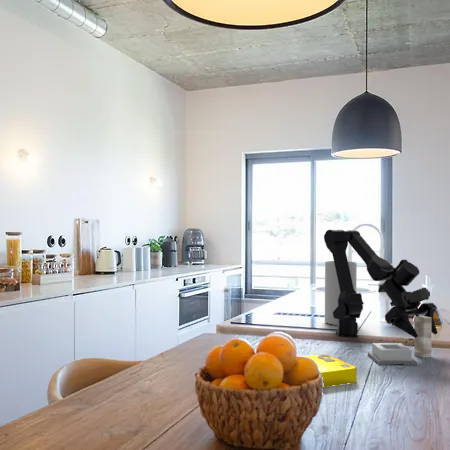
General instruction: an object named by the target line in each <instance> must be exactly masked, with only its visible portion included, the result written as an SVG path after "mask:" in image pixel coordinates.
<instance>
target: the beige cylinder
mask: <svg viewBox="0 0 450 450" xmlns="http://www.w3.org/2000/svg"><path fill="white" fill-rule="evenodd" d="M414 329H415V331H416V333H417V335H418V337H417V338H415V337H413V338H414V342H413V343H414V344H413V347H414V348H413V355H414V356H415V355H416V356H415V357H419V358H422V357H423V358H424V359H425V357H426V358H429V357H432V332H431V329H432V318H431V317H426V316H414ZM423 358H422V359H423Z"/></svg>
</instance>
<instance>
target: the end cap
mask: <svg viewBox="0 0 450 450" xmlns="http://www.w3.org/2000/svg"><path fill="white" fill-rule="evenodd" d="M371 347H372V348H371V351H367V356H368V357H369V356H370V357H371V358H372V360H373V361H374V360H375V361H376V362H377V363H378V364H404V365H403V366H417V364H418V363H417V362H418V361H416V360H415V359H414V358H413V357H412V356H413V355H412V350H411V349H410V348H409V347H407V346H406V345H404V344H403V343H400V342H398V343H397V342H372V345H371ZM370 357H369V358H370ZM371 358H370V359H371ZM375 361H374V362H375ZM376 362H375V363H376ZM377 363H376V364H377ZM378 364H377V365H378Z"/></svg>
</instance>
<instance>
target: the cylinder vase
mask: <svg viewBox="0 0 450 450" xmlns="http://www.w3.org/2000/svg"><path fill="white" fill-rule="evenodd" d="M324 263H325V264H324V269H325V270H324V322H325V323H326V324H327V323H328V325H330V324H333V325H332V326H336V325H337V319H336V318H334V316H333V311H334V310H335V309H336V308H337V307H338V298H339V295H340V288H339V283H338V278H337V274H336V269H335V264H334V260H329V261H328V260H327V261H324ZM348 265H349V269H350V274H351V278H352V283H353V287H354V290H355V291H356V292H357V267H358V266H357V265H358V264H357V262H356V261H348Z"/></svg>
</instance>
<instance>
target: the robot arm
mask: <svg viewBox="0 0 450 450" xmlns="http://www.w3.org/2000/svg"><path fill="white" fill-rule="evenodd" d="M323 240H324V243H325V246H326V249H327V250H329V253H331V254H332V258H333V261H334V264H335V269H336V274H337V278H338V283H339V288H340V295H339V298H338V307H337V308H336V309H335V310H334V311H333V316H334V318H336V319H337V326H336V331H335V333H336V334H337V336H338V337H342V338H343V337H351V338H352V337H355V338H357V337H358V331H359V330H358V326H359V325H358V322H357V319H360V317H361V316H362V315H361V314H362V311H363V310H364V301H363V298H362V293H360V292H358V293H357V290H356V291H355V290H354V287H353V283H352V278H351V274H350V269H349V265H348V260H349V259H348V257H347V248H348V245H350V246H351V247H352V249H353V250H354V251H355V253H357V254H358V256H359V257H360V258H361V260H362V261H363V262H364V264H365V265H366V271H367V273H368V275H369V276H370V278H371V280H372V281H375V282H380V281H385V280H386V281H385V282H384V283H383V284H380V283H379V285H378V286H379V287H378V291H377V293H380V292H386V294H387V295H388V297H389V300H390V302H389V305H390V306H391V308H389V311H388V313H387V314H386V313H385V315H384V317H385V320H386V322H387V325H391V326H394V327H396V328H398V329H399V330H402V331H403V332H404V333H406V334H408V335H410V336H411V337H413V338H414V337H415V338H417V337H418V335H417V333H416V331H415V329H414V328H415V326H414V325H413V324H412V323H411V321H410V317H411V316H414V317H416V316H426V317H431V318H432V329H431V334H433V335H434V336H435V335H437V334H438V329H437V327H436V324H435V320H434V314H435V313H436V310H437V309H438V308H437V306H436V305H435V303H434V302H424V303H422V304H421V302H423V301H425V300H426V301H427V300H429V299H430V297H431V292H430V291H429V289H427V287H422V288H419V289H416V290H413V291H407V290H406V289H405V287H407V286H409V285H410V284H411V283H412V282H413V281H414V280H415V279H416V278H417V277H418V275H419V274H420V270H419V268H418V267H417V266H416V265H415V264H413V263H411V262H410V261H408V260H407V259H401V260H400V261H399V263H398V264H397V266H395V267H394V268H393V266H392V265H391V264H392V263H390V262H389V261H388V260H386V259H384V258H383V257H381V256H379V255H378V254H377V253H376V252H375V251H374V249H373V248H372V247H371V246H370V245H369V243H368V242H367V241H366V240H365V238H363V236H362V235H361V233H360V231H358V230H355V229H353V230H344V229H328V230H326V231H325V233H324V236H323ZM380 294H381V293H380Z"/></svg>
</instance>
